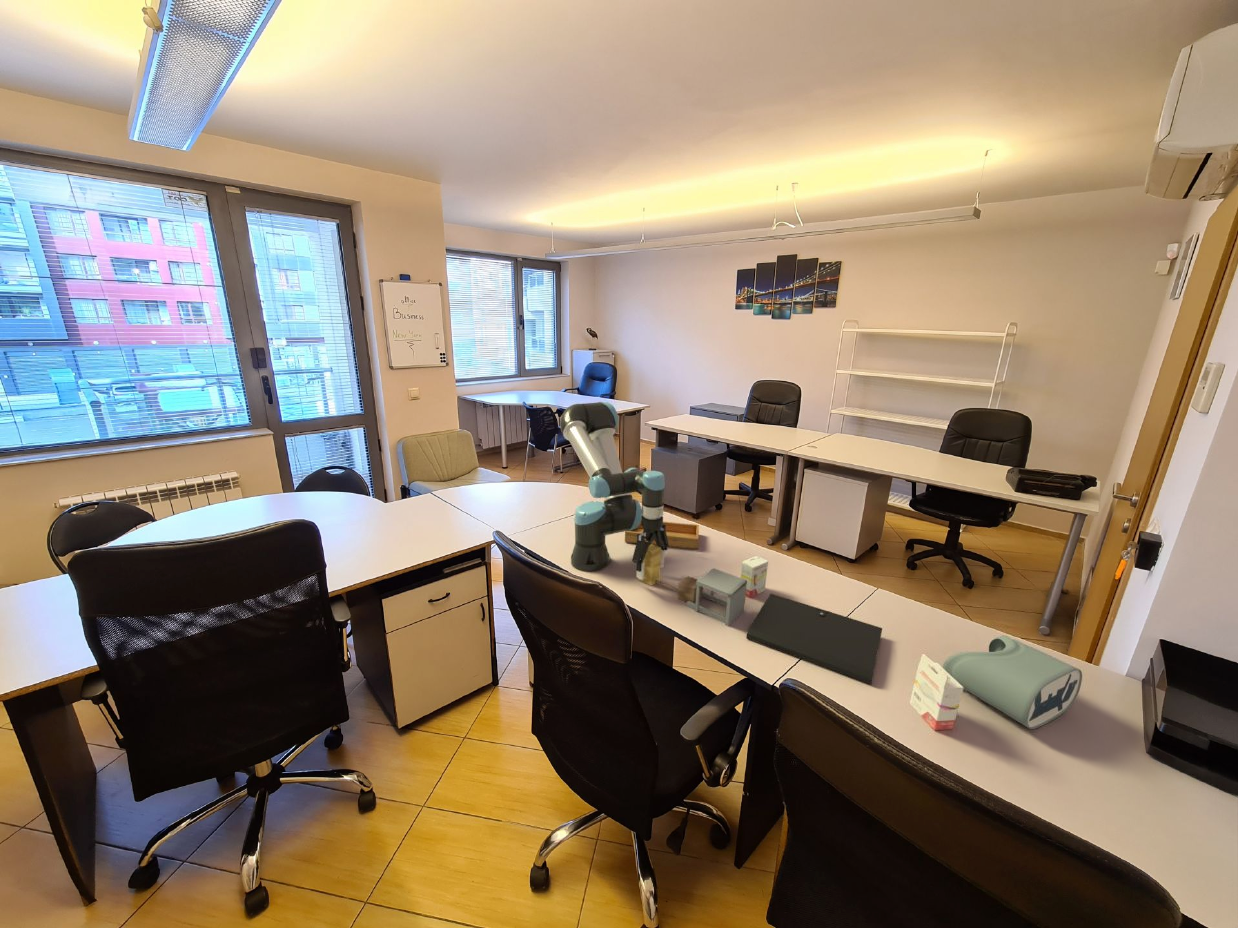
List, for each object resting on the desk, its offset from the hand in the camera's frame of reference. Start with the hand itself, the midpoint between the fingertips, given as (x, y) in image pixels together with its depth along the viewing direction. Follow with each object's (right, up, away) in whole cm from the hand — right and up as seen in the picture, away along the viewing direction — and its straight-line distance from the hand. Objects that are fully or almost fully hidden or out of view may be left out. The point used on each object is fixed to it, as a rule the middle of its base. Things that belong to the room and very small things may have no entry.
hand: (650, 571), depth 167 cm
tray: (+8, +6, +35) cm, 36 cm away
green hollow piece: (+86, -20, -50) cm, 101 cm away
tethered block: (+7, -5, -4) cm, 9 cm away
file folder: (+47, -14, -29) cm, 57 cm away
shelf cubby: (+20, -9, -15) cm, 26 cm away
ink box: (+35, -6, -5) cm, 36 cm away
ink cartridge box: (+63, -21, -56) cm, 87 cm away
